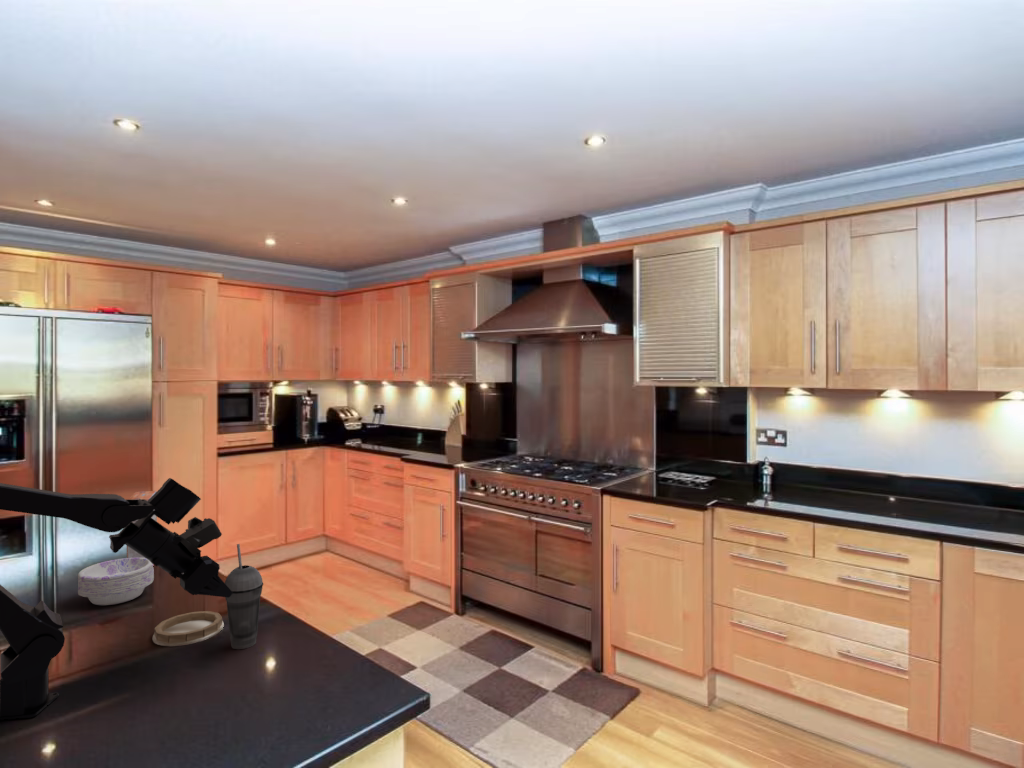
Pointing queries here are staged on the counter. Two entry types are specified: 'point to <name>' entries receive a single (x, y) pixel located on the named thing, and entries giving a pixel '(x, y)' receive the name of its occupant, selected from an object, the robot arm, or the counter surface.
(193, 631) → the ring holder
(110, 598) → the paper bowls
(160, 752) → the counter surface
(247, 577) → the beverage cup
